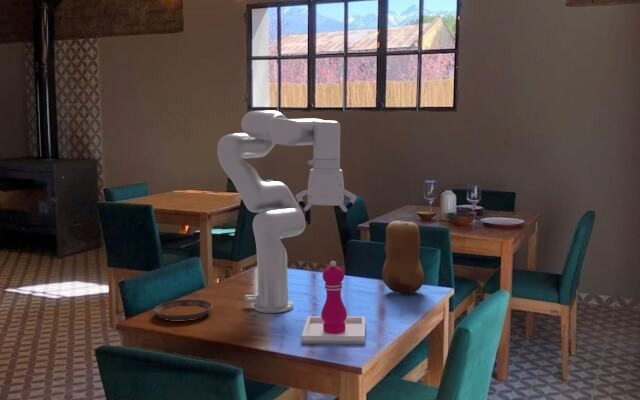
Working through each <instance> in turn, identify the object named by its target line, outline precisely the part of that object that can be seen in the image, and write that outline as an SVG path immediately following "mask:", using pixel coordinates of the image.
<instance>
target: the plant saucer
mask: <svg viewBox="0 0 640 400" xmlns="http://www.w3.org/2000/svg"><path fill="white" fill-rule="evenodd" d="M177 306H199V307H203V308H205V309H207V310H205V311H202V312H198V313H193V314H184V315H168V314H161V313H160V312H161V311H164V310H166V309H169V308H172V307H177ZM212 307H213V304H212V303H211V302H210V301H207V300H204V299H203V300H202V299H193V298H191V299H189V298H188V299H176V300H170V301H167V302H162V303H160V304H158V305H157V306H155V307H154V308H153V311H154V313H156V315H157V316H158V317H159V318H160V319H161V318H163V319H168V320H189V319H195V318H200V317H203V316H204V317H206V316H207V315H208V314H209V312H210V311H211V309H212ZM206 314H207V315H206ZM205 315H206V316H205ZM204 317H203V318H204ZM163 319H162V320H163ZM200 319H201V318H200Z"/></svg>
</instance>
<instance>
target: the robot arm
mask: <svg viewBox="0 0 640 400" xmlns="http://www.w3.org/2000/svg"><path fill="white" fill-rule="evenodd" d="M240 126H241V129H242V131H243V132H235V133H229V134H226V135H224V136H222V137H221V138H220V139H219V140H218V143H217V148H216V149H217V152H216V153H217V160H218V161H219V164H220V167H221V168H222V169H223V171H224V172H225V174H226V175H227V176H228V178H229V179H230V181H232V183H233V185H234V188H235V189H236V191H237V193H238V194H239V196H240V198H241V200H242V202H243V203H244V206H245V207H246V208H247V210H248V211H249V212H252V213H257V214H256V215H255V216H254V218H253V221H252V231H253V235H254V239H255V240H254V241H255V247H256V265H257V266H256V267H257V268H256V269H257V293H255V294H245V295H244V301H246V302H247V303H253V309H254V310H255V311H256V312H259V313H265V314H279V313H285V312H288V311H290V310H292V309H293V307H294V303H293V302H292V300H289V289H288V288H289V287H288V286H289V285H288V282H289V279H288V253H287V250H286V248H285V246H284V244H283V242H282V240H281V239H286V238H293V237H296V236H299V235H301V234H302V233H303V232H304V231H305V228H306V225H308V226H309V225H311V224H312V210H311V207H312V206H328V207H330V206H336V207H337V206H339V208H340V209H341V213H340V225H341V226H344V225H345V223H347V216H348V214H347V212H348V211H349V210H350V209H351V208H352V207H353V206H354V203H355V202H356V200H357V198H358V196H357V195H356V194H354V193H352V192H350V191H349V190H346V189H345V182H344V175H343V170H342V169H341V124H340V122H339V121H337V120H325V119H320V118H288V117H286V115H284V113H283V114H282V113H281V112H280V111H278V110H252V111H249V112H247V113H246V114H245V115H244V116H243V117H242V119H241V122H240ZM276 145H280V146H287V147H288V146H289V147H296V146H313V147H312V148H313V149H312V150H313V151H312V152H313V153H312V154H313V155H312V157H313V158H312V159H308V160H307V165H308V166H311V167H312V168H311V169H309V176H308V181H307V182H308V183H307V189H305V190H303V191H301V192H299V193H297V194H295V196H294V195H293V193H292V192H291V190H290V188H289V187H288V186H287V184H285V183H284V182H282V181H278V180H277V181H276V180H273V181H264V180H262V178H261V177H260V175H259V173H258V172H257V170H256V169H255V167H253V166H252V164H249V162H247V161H245V159H257V158H264V157H265V156H267V155H268V154H269V153H270V152H271V151H272V149H274V147H275V146H276ZM306 195H307V203H306V202H305V201H304V200H303V197H304V196H306ZM345 196H346V197H347V198H350V201H349V202H348V203H347V204H345V202H344V200H345ZM301 208H303V210H304V211H305V212H304V213H303V211H302V209H301ZM306 222H307V223H306Z"/></svg>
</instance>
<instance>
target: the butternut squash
mask: <svg viewBox="0 0 640 400" xmlns="http://www.w3.org/2000/svg"><path fill="white" fill-rule="evenodd" d="M419 228H420V227H419V225H417V224H416V223H415V222H413V221H405V220H398V219H397V220H393V221H391V222H390V223H388V225H386V229H385V246H384V252H385V255H386V258H385V262H384V264H383V267H382V278H381V279H382V281H383V283H384V284H385V285H386V287H387V288H388V289H389V290H390V291H392V292H395V293H398V294H401V295H402V296H404V295H405V296H407V295H411V294H413V293H416V292H417V291H419V290H420V289H421V287H422V286H423V283H424V280H425V279H424V277H425V275H424V269H423V266H422V264H421V261H420V256H419V255H420V250H421V237H420V229H419Z"/></svg>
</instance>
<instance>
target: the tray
mask: <svg viewBox="0 0 640 400" xmlns="http://www.w3.org/2000/svg"><path fill="white" fill-rule="evenodd" d="M324 323H325V322H324V321H323V320H322V318H321V315H320V316H318V315H317V316H316V315H315V316H310V315H308V316H307V317H306V320H305V324H304V326H303V330H302V334H301V344H311V345H312V344H313V345H314V344H321V345H322V344H325V345H328V344H329V345H331V344H335V345H339V344H340V345H365V344H366V316H347V318H346V320H345V321H344V323H345V331H344V332H342V333H338V334H330V333H326V332H324V330H323V324H324Z"/></svg>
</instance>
